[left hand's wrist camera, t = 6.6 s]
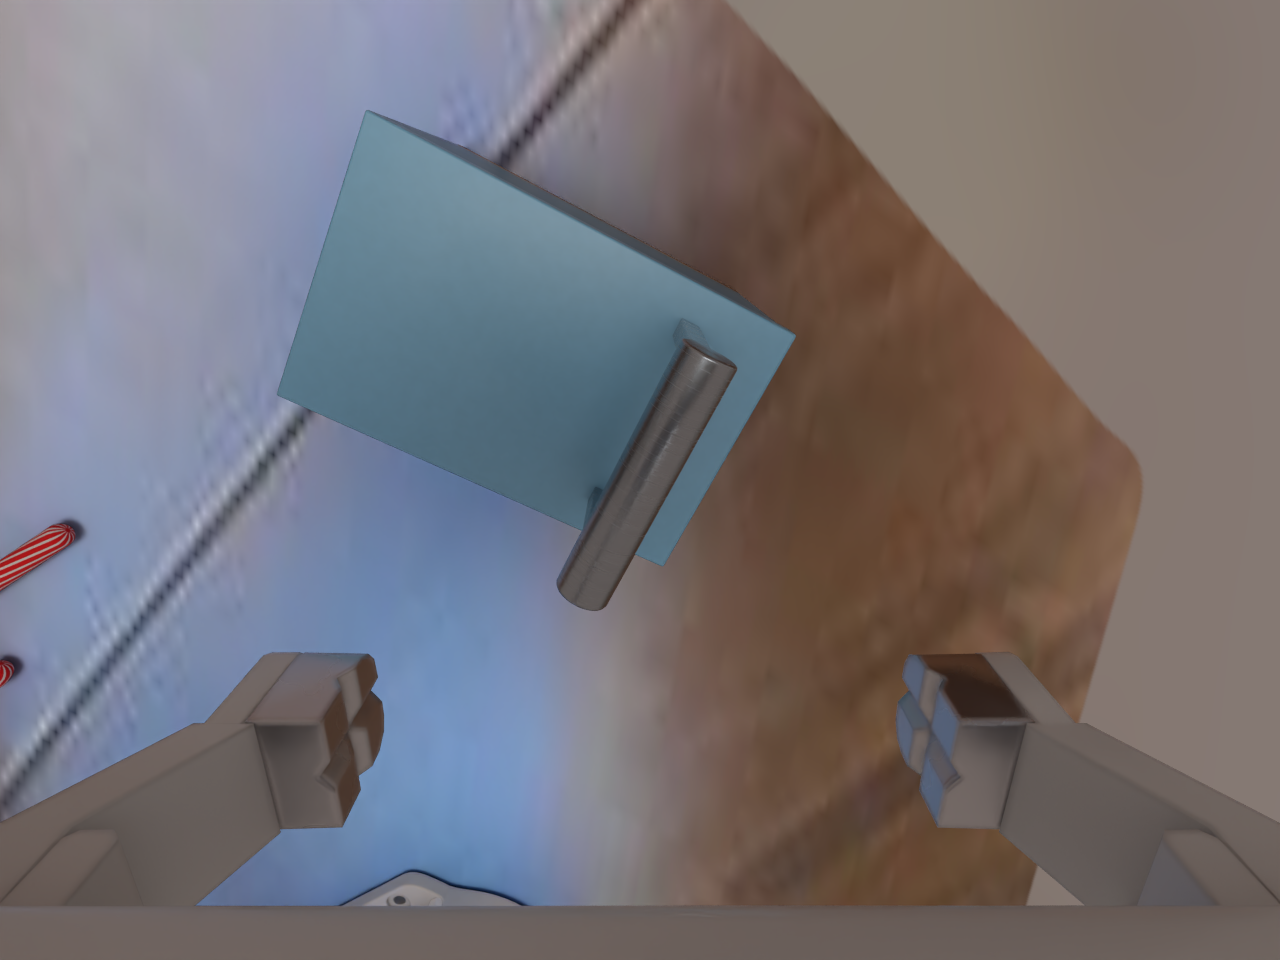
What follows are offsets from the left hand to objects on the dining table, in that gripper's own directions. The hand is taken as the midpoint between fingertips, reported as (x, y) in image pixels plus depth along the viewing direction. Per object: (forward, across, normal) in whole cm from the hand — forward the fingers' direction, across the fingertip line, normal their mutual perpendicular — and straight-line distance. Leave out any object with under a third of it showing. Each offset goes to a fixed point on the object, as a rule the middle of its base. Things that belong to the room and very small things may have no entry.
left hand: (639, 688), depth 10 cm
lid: (+16, +4, -2) cm, 16 cm away
